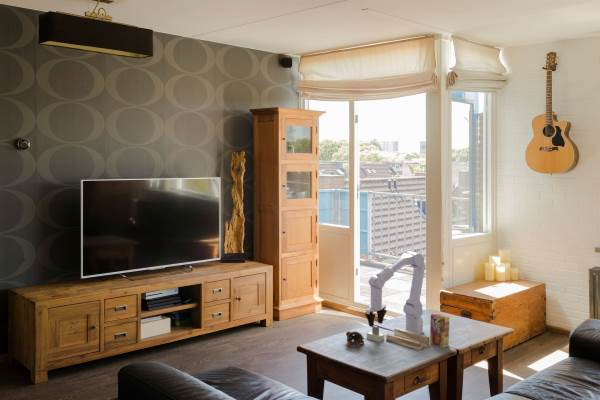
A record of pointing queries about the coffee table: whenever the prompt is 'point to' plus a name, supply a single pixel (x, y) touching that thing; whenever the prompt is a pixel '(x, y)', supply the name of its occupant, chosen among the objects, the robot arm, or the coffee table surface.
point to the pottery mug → (354, 339)
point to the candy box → (439, 330)
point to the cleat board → (408, 339)
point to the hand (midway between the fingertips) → (375, 324)
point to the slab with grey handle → (375, 334)
